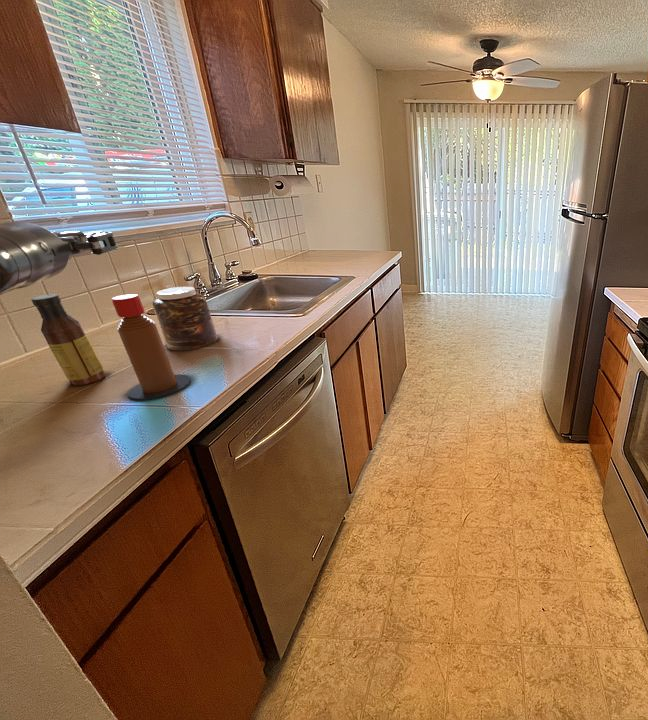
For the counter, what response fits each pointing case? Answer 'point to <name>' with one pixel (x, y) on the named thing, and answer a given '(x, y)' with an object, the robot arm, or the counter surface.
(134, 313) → the cap
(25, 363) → the counter surface
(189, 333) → the jar
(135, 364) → the bottle
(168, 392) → the coaster
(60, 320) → the sauce bottle
